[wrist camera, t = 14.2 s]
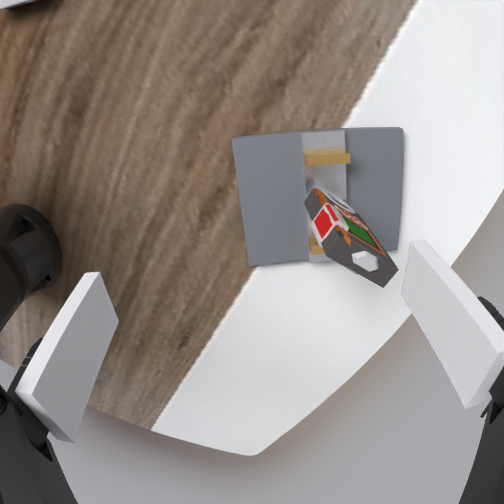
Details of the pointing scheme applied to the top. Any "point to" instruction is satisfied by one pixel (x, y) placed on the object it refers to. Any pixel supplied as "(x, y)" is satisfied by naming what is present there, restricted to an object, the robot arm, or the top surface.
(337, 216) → the electronic device
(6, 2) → the electrical switch
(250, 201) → the panel
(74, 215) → the top surface
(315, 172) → the rail
